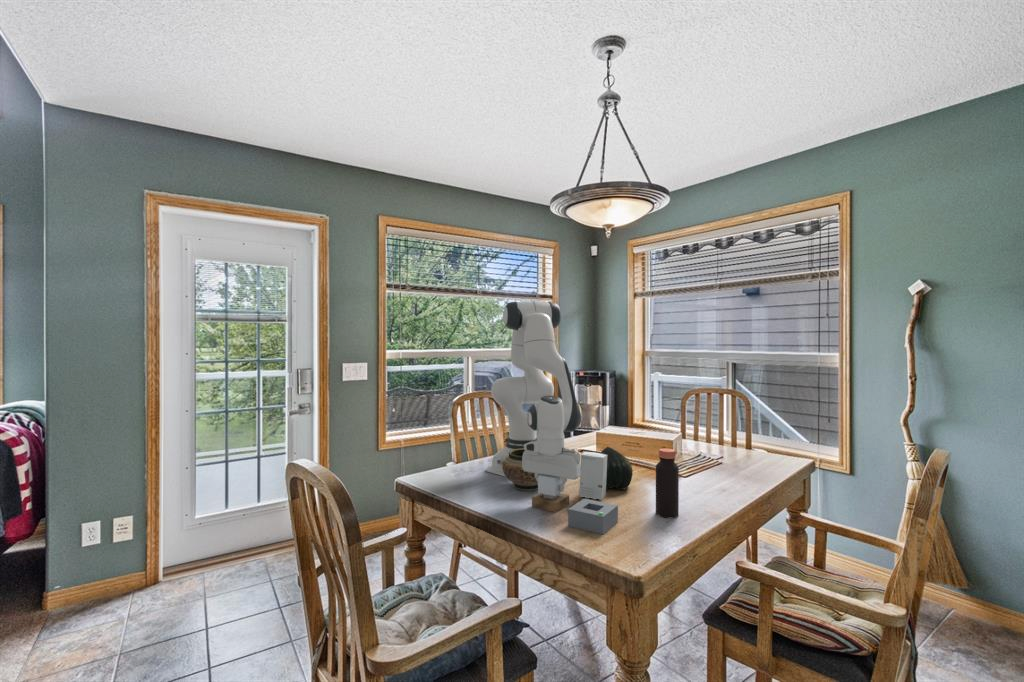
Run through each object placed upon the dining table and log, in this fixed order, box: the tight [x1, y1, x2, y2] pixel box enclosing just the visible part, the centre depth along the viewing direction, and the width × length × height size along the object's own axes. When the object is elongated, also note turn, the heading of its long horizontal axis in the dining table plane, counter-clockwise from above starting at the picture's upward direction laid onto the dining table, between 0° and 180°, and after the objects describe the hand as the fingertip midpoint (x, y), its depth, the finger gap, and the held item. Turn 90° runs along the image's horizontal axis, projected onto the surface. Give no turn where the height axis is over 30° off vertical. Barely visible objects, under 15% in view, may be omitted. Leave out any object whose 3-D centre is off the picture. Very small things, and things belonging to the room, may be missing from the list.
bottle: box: [655, 447, 680, 518], centre depth 153 cm, size 7×7×20 cm
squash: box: [599, 446, 634, 490], centre depth 181 cm, size 14×15×15 cm
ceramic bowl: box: [502, 448, 538, 491], centre depth 181 cm, size 24×18×15 cm
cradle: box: [531, 492, 570, 513], centre depth 160 cm, size 9×9×3 cm
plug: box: [537, 474, 564, 500], centre depth 160 cm, size 6×6×10 cm
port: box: [567, 498, 619, 535], centre depth 145 cm, size 11×11×5 cm
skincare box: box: [578, 451, 607, 501], centre depth 169 cm, size 8×6×15 cm
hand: (550, 488), depth 160 cm, fingers closed on plug, 6 cm apart
